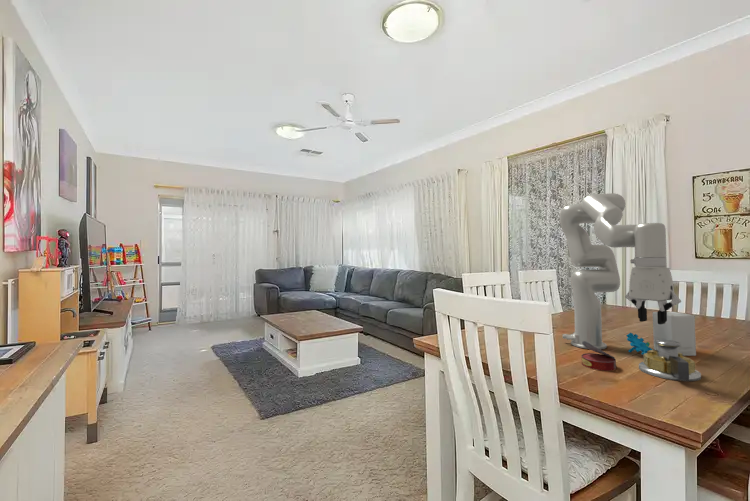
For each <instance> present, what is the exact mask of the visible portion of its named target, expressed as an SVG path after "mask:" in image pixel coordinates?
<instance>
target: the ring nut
mask: <svg viewBox="0 0 750 501" xmlns="http://www.w3.org/2000/svg"><path fill="white" fill-rule="evenodd" d="M642 356H643V362H644V364H645V365H646V366H647V367H650V368H652V369H656V370H659V371H663V372H668V373H672V374H673V375H674V376H675V377H676V378H678V379H682V380H689V374H690V373H694V372H695V370H696V361H694V360H693V359H691V358H690V357H687V356H683V354H682V353H678V357H675V356H670V361H667V360H665V357H661V356H658V351H657V350H654V349H652V350H649V351H647V353H645V354H643V355H642Z"/></svg>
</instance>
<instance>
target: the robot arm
mask: <svg viewBox="0 0 750 501" xmlns="http://www.w3.org/2000/svg"><path fill="white" fill-rule="evenodd" d="M625 208H626V200H625V198H624V197H623V196H622V195H621V194H619V193H616V192H615V193H611V192H610V193H609V192H608V193H593V194H590V195H587V196H585V197H583V199H582V200H581V203H573V204H568V205H565V206H564V207H562V209H561V210H560V212H559V223H560V224H559V225H560V227H561V230H562V232H563V233H564V236H565V238H566V239H565V240H566V243H567V248H568V251H569V252H568V253H569V257H570V258H569V259H570V262H571V264H572V265H573V266H574V267H576V268H591V269H578V270H576V271H574V272H573V273H572V274H571V276H570V283H571V287H572V288H571V289H572V294H573V295H572V296H573V304H574V305H573V306H574V307H573V308H574V309H573V311H574V332H573V333H571V334H568V333H562V339H564V340H565V339H566V340H567V341H568V340H569V341H570V344H571V345H572V346H574V347H577V348H581V349H585V350H586V349H587V350H589V349H588V348H586V347H585V346H584V345H583V344H582V342H583V341H585V342H588V343H590V344H591V345H593V346H595V347H597V348H598V349H600V350H606V349H607V347H608V346H607V343H605V342H603V329H602V328H603V324H602V323H603V322H602V303H601V301H600V299H599V298H598V297H597V295H596V293H614V292H617V291H618V290H619V289H620V286H621V278H620V273H619V269H618V265H617V261H616V255H615V253H614V250H612V248H615V249H616V248H617V249H619V248H634V258H633V259H630V264H633V265H634V266H633V267H632V268H631V271H630V276H629V286H628V287H629V289H628V292H627V293H626V295H625V296H624V298H625V299H626V300H628V301H630V302H631V303H632V304H633V306H635V308H636V309H637V318H638V319H639V322H641V323H643V322H647V321H648V310H647V308H646V306H645V305H646V303H647V302H646V301H652V302H657V305H658V310H657V311H656V312H657V316H658V324H665V322H666V321H667V312H668V311H669V310H670V309H671V308H673V307H674V306H676V305H679V304H681V303H682V300H681V299H680V298H679V296H678V295H677V294H676V293H675V289H674V288H675V287H674V281H673V275H672V273H671V272H672V271H671V269H670V267H668V265H667V264H668V261H667V232H666V231H667V230H666V229H667V228H666V226H665V224H664V223H662V222H644V223H639V224H619V223H620V222H621V220H622V218H623V212H624V210H625ZM580 224H594V225H593V226H594V227H593V230H594V234H595V236H596V238H597V239H598V240H599V241H600V242H601V243H602V244H593V243H592V242H591V237H590V235H589V233H588V232H587V231H586V229H585V228H584V227H583V226H581V225H580ZM592 268H594V269H592ZM595 268H598V269H595ZM668 301H670V302H668Z"/></svg>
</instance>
